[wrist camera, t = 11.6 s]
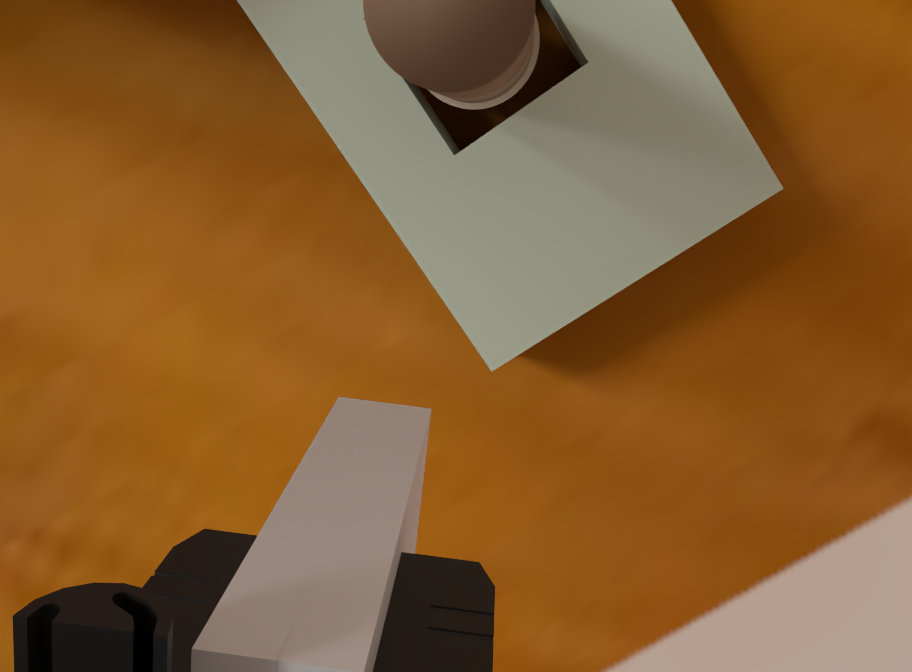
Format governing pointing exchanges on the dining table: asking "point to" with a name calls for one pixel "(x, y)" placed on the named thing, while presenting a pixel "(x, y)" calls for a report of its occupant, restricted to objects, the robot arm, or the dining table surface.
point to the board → (535, 161)
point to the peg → (458, 46)
